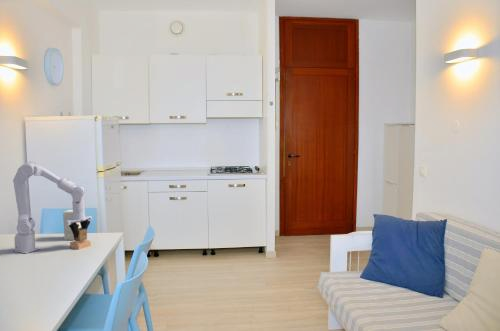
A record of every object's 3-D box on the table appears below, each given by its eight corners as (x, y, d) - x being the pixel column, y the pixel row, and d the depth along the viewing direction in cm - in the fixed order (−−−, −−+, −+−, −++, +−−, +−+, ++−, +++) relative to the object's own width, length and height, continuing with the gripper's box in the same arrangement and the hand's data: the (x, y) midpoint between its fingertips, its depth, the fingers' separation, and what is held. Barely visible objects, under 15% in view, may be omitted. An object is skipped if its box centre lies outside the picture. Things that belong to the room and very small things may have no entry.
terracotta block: (70, 248, 215) (70, 242, 215) (82, 244, 221) (82, 239, 221) (78, 250, 212) (78, 244, 211) (90, 246, 217) (90, 241, 217)
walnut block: (73, 240, 215) (73, 229, 214) (80, 238, 219) (80, 227, 218) (79, 241, 213) (79, 230, 212) (87, 239, 217) (86, 228, 216)
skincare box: (75, 240, 228) (74, 212, 226) (63, 240, 228) (61, 212, 227) (81, 236, 236) (80, 208, 235) (70, 236, 236) (68, 209, 235)
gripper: (72, 213, 206) (73, 240, 208) (95, 208, 219) (96, 233, 220) (62, 212, 209) (63, 238, 211) (86, 206, 222) (87, 232, 224)
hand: (80, 236), depth 216 cm, fingers closed on walnut block, 4 cm apart
